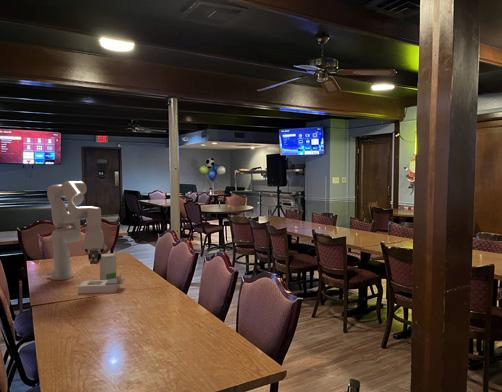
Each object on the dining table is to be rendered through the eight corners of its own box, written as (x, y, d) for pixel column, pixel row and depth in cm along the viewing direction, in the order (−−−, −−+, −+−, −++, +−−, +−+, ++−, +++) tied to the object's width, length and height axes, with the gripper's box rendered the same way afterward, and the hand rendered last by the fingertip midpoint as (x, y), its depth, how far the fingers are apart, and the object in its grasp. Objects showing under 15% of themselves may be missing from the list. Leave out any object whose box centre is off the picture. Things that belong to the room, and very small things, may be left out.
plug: (89, 264, 216) (89, 252, 216) (92, 262, 223) (92, 250, 222) (96, 264, 217) (96, 252, 217) (99, 262, 223) (99, 250, 223)
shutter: (105, 284, 217) (105, 277, 217) (109, 280, 226) (108, 273, 226) (121, 283, 218) (121, 276, 218) (124, 279, 228) (124, 272, 227)
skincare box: (105, 281, 239) (104, 256, 238) (99, 279, 243) (98, 255, 242) (117, 278, 245) (116, 254, 244) (111, 277, 249) (110, 253, 248)
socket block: (78, 293, 214) (78, 286, 214) (84, 287, 226) (84, 280, 225) (115, 292, 217) (115, 285, 217) (119, 286, 229) (119, 279, 228)
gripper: (76, 229, 215) (77, 262, 216) (108, 229, 217) (108, 261, 218) (80, 228, 222) (81, 259, 223) (110, 227, 225) (111, 258, 226)
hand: (94, 260), depth 221 cm, fingers closed on plug, 4 cm apart
